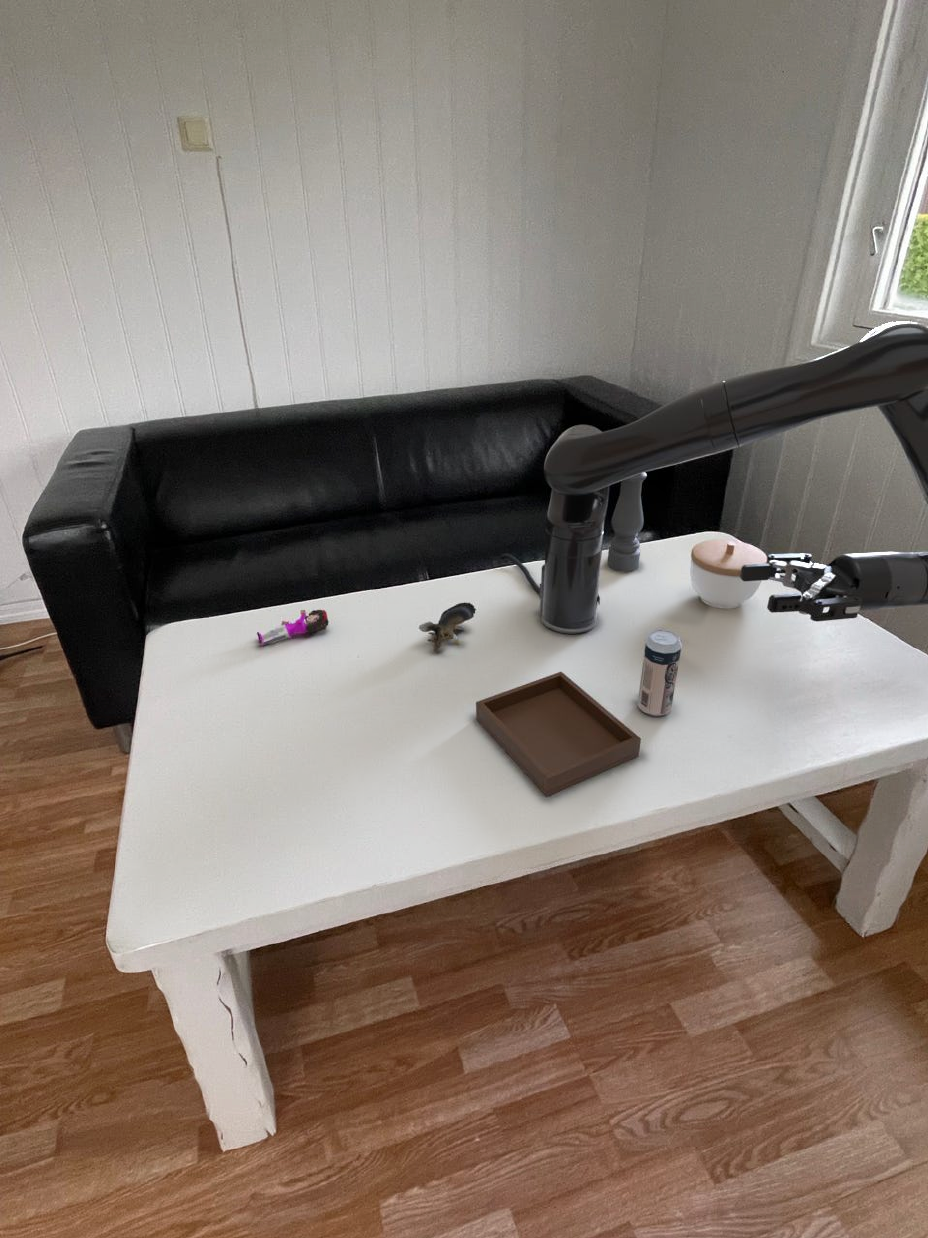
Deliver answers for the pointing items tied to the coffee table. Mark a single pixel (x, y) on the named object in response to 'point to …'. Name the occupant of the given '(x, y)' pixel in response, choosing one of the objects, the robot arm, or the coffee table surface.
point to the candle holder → (627, 526)
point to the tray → (556, 732)
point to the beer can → (659, 672)
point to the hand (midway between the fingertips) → (755, 588)
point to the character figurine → (297, 627)
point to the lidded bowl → (723, 572)
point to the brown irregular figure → (449, 624)
